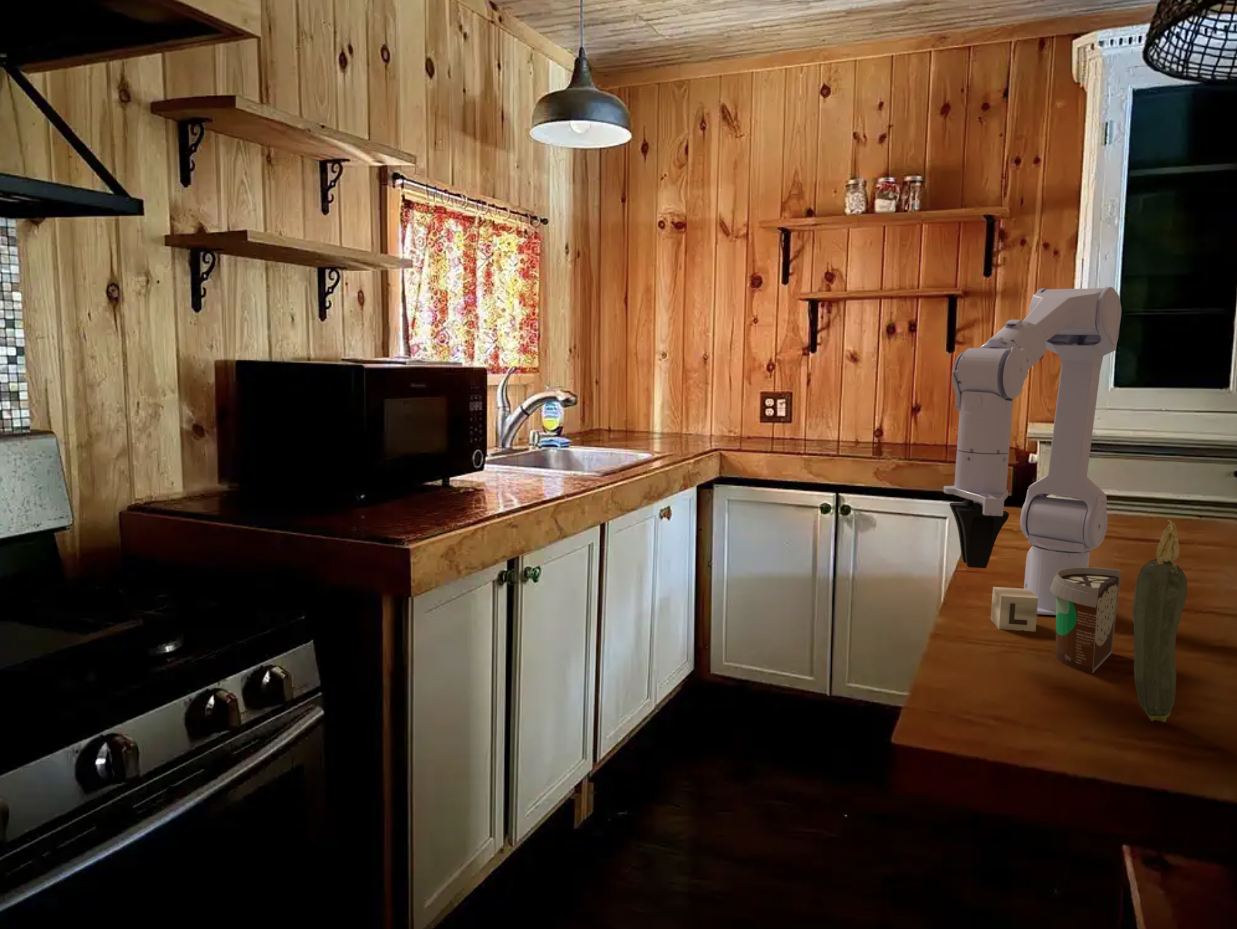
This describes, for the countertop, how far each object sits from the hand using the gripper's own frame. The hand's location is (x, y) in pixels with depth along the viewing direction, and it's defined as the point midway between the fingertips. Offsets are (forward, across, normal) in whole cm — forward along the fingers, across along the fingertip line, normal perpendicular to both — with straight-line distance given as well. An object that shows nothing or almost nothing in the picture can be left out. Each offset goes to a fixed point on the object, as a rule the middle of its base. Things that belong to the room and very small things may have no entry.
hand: (974, 565), depth 111 cm
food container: (+11, 0, +12) cm, 16 cm away
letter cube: (+10, -12, +8) cm, 18 cm away
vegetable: (+11, +19, +13) cm, 25 cm away
